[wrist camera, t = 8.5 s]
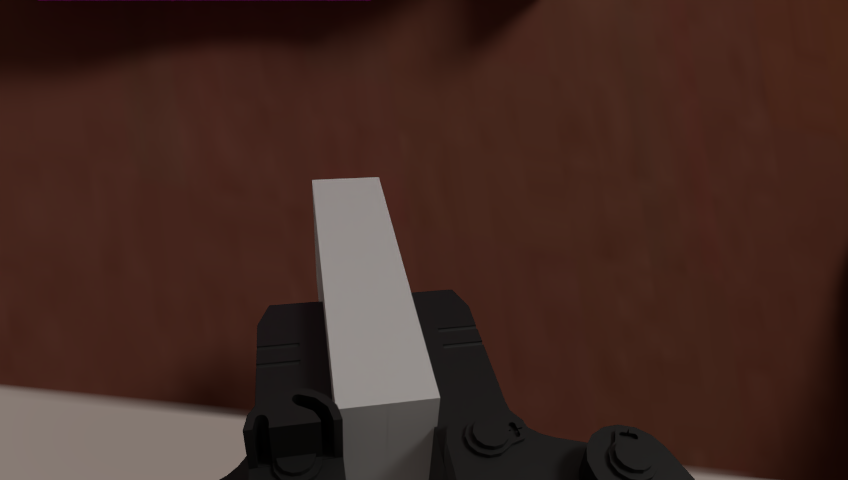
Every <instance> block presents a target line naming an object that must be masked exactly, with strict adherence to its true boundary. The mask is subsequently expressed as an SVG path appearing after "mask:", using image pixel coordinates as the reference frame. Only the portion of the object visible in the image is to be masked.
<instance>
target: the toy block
mask: <svg viewBox="0 0 848 480" xmlns="http://www.w3.org/2000/svg"><path fill="white" fill-rule="evenodd" d="M37 1H371V0H37Z"/></svg>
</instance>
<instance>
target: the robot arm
mask: <svg viewBox="0 0 848 480" xmlns="http://www.w3.org/2000/svg"><path fill="white" fill-rule="evenodd" d="M312 188H313V210H314V231H315V253H316V275H317V287H318V298H319V302H308V303H296V304H283V305H270V306H269V307H268V309H267V310H266V312H265V314H264V315H263V317H262V319H261V320H260V322H259V323H258V326H257V360H256V365H257V369H256V395H255V407H254V408H253V409H252V410H251V412H250V413H249V414H248V415H247V418H246V422H245V425H244V428H243V435H244V442H245V448H246V454H247V456H246V457H245V459H244V460H243V461H242V462H241V463H240V465H239V466H238V467H237V468H236V469H234V470H233V471H232V472H231V473H230V474H228V475H227V476H225V477H224V478H222V479H220V480H695V479H694V478H693V477H692V476H691V475H690V474H689V473H688V471H687V470H686V469H685V468H684V467H683V466H682V465H681V464H680V463H679V461H678V460H677V459H676V458H675V457H674V456H673V455H672V454H671V453H670V451H669V450H668V449H667V448H666V447H665V446H664V445H663V444H661V443H660V442H659V441H658V440H657V439H655V438H654V437H653V436H652V435H650V434H648V433H646V432H644V431H641V430H639V429H637V428H635V427H629V426H623V425H614V426H608V427H603V428H601V429H600V430H598V431H597V432H595V433H594V434H592V436H591V438H590V440H589V442H588V443H585V442H579V441H573V440H567V439H561V438H555V437H551V436H547V435H543V434H540V433H538V432H536V431H534V430H532V429H530V428H528V427H527V426H526V424H525V423H524V421H523V420H522V419H520V418H519V417H518V416H516V415H515V414H514V413H512V412H511V411H510V410H509V408H508V406H507V404H506V402H505V400H504V397H503V395H502V392H501V389H500V387H499V384H498V382H497V379H496V376H495V374H494V371H493V369H492V366H491V363H490V361H489V358H488V356H487V353H486V350H485V348H484V345H482V340H481V337H480V335H479V332H478V330H477V329H476V324H475V322H474V319H473V317H472V314H471V311H470V309H469V306H468V305H467V304H466V303H465V302H464V301H463V300H462V299H461V298H460V297H459V296H458V295H457V294H456V293H455V292H454V291H453V290H440V291H427V292H415V293H411V291H410V287H409V284H408V280H407V277H406V273H405V270H404V266H403V262H402V259H401V255H400V252H399V248H398V244H397V241H396V237H395V234H394V230H393V227H392V223H391V219H390V216H389V212H388V209H387V205H386V202H385V198H384V194H383V191H382V187H381V184H380V180H379V177H374V178H350V179H326V180H312Z"/></svg>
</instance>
